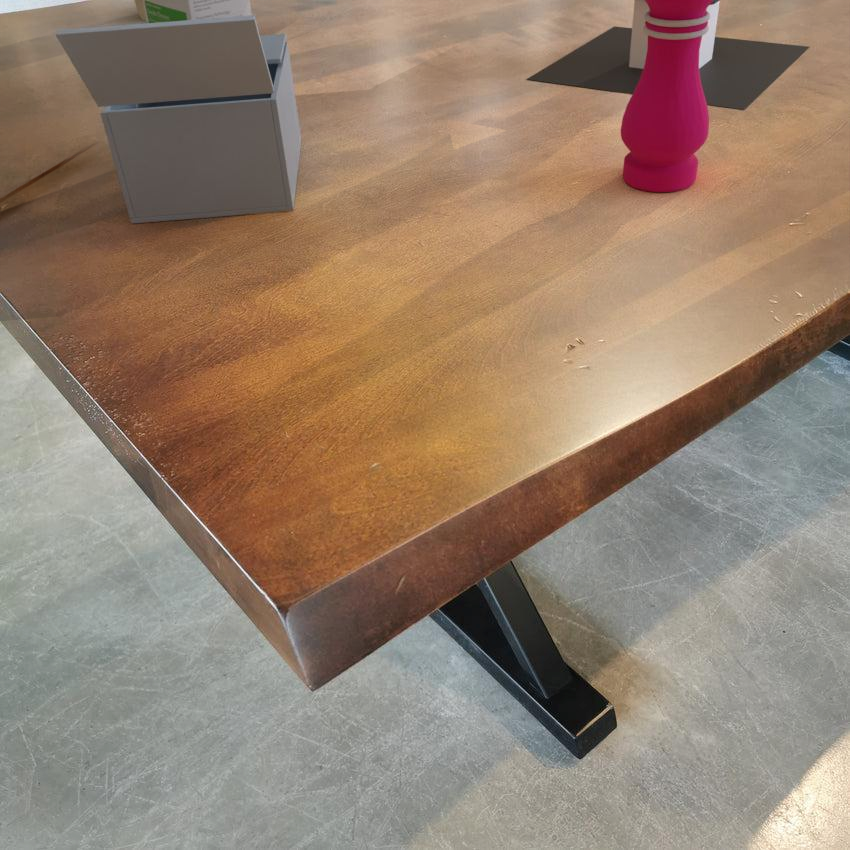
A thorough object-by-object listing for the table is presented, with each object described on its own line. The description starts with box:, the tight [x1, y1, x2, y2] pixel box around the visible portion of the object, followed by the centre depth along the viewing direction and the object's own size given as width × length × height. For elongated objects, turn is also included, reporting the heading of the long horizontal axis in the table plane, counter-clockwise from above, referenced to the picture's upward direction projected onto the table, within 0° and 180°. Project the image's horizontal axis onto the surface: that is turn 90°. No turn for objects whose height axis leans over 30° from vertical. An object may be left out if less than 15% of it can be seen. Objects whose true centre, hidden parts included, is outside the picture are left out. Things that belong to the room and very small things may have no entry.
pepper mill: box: [620, 0, 713, 193], centre depth 71 cm, size 7×7×20 cm
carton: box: [100, 33, 302, 224], centre depth 80 cm, size 17×14×10 cm
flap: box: [55, 14, 274, 108], centre depth 66 cm, size 8×14×1 cm
